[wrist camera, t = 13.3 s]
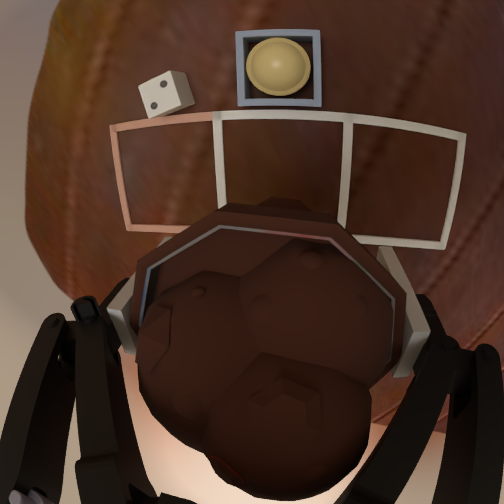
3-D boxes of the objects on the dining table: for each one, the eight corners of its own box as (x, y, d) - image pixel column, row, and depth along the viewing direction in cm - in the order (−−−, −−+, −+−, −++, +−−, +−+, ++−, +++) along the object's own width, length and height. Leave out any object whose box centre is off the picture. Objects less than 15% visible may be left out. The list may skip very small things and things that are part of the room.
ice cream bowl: (349, 135, 15) (533, 315, 2) (368, 294, 20) (401, 507, 7) (178, 174, 18) (-17, 343, 5) (229, 313, 23) (167, 501, 10)
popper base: (242, 37, 25) (235, 31, 22) (318, 36, 23) (319, 30, 21) (244, 105, 28) (237, 106, 26) (320, 106, 27) (321, 106, 25)
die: (155, 86, 29) (137, 86, 25) (185, 73, 27) (169, 70, 24) (165, 115, 30) (148, 118, 27) (195, 103, 29) (180, 104, 26)
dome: (251, 44, 25) (240, 34, 20) (309, 43, 24) (309, 32, 19) (252, 96, 27) (242, 95, 23) (310, 96, 26) (311, 95, 22)
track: (110, 125, 32) (109, 125, 31) (465, 133, 24) (466, 133, 24) (127, 229, 39) (126, 230, 39) (444, 248, 32) (444, 249, 31)
